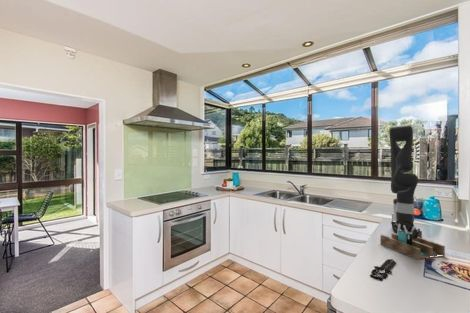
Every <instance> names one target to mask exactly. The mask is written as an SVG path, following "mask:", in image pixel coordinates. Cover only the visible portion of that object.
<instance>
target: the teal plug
mask: <svg viewBox="0 0 470 313" xmlns="http://www.w3.org/2000/svg"><path fill="white" fill-rule="evenodd" d="M409 235H410V234H409ZM407 239H408V238H407V234H405V231H398V241H401V242H404V243H406V244H407Z"/></svg>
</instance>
